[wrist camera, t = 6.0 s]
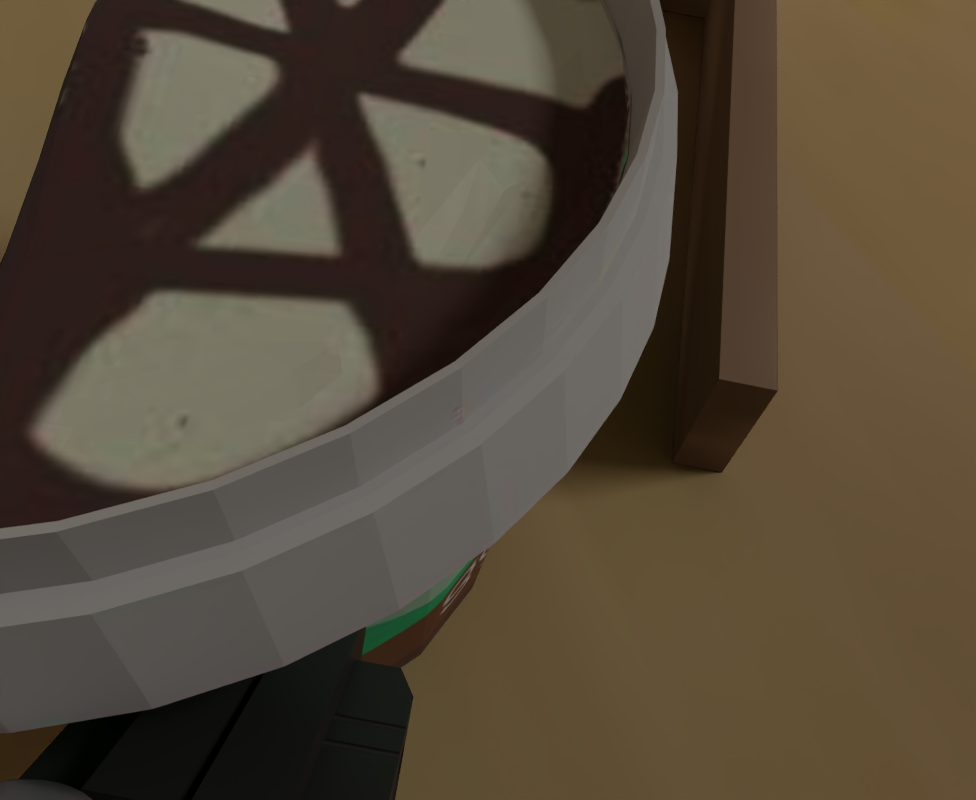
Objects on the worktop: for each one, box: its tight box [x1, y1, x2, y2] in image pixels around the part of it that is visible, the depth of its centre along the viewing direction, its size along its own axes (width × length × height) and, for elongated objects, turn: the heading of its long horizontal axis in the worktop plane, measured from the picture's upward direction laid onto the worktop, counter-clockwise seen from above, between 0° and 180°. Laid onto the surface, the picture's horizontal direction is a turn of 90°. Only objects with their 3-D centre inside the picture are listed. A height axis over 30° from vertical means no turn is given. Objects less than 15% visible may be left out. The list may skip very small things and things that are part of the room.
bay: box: [659, 0, 778, 472], centre depth 20 cm, size 11×16×3 cm
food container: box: [0, 0, 678, 733], centre depth 12 cm, size 12×6×10 cm, turn 177°
